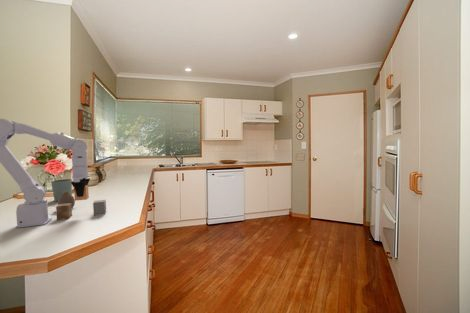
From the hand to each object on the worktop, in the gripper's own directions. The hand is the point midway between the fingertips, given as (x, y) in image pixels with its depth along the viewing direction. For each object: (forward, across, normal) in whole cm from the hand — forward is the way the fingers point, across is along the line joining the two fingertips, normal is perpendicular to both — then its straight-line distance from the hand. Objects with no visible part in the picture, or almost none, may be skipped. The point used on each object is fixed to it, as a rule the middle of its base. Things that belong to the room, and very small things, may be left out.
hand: (81, 195), depth 105 cm
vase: (+10, +17, +10) cm, 22 cm away
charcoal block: (+10, 0, -7) cm, 12 cm away
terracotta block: (+2, 0, 0) cm, 2 cm away
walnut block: (+10, 0, +7) cm, 12 cm away
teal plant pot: (+10, +44, +20) cm, 49 cm away
